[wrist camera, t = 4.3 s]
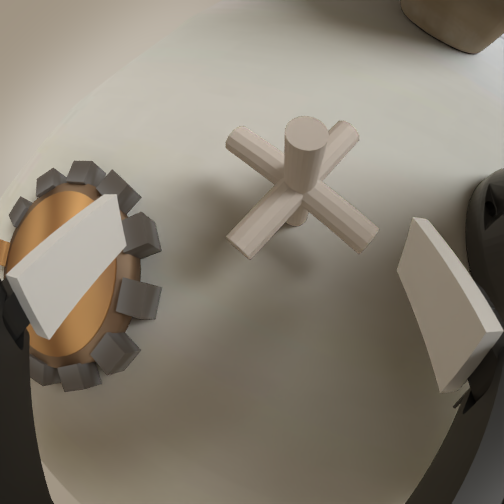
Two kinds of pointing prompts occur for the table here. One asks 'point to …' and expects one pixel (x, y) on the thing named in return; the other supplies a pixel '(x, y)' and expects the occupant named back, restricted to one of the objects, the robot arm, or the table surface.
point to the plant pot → (458, 21)
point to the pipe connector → (298, 184)
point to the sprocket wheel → (103, 289)
